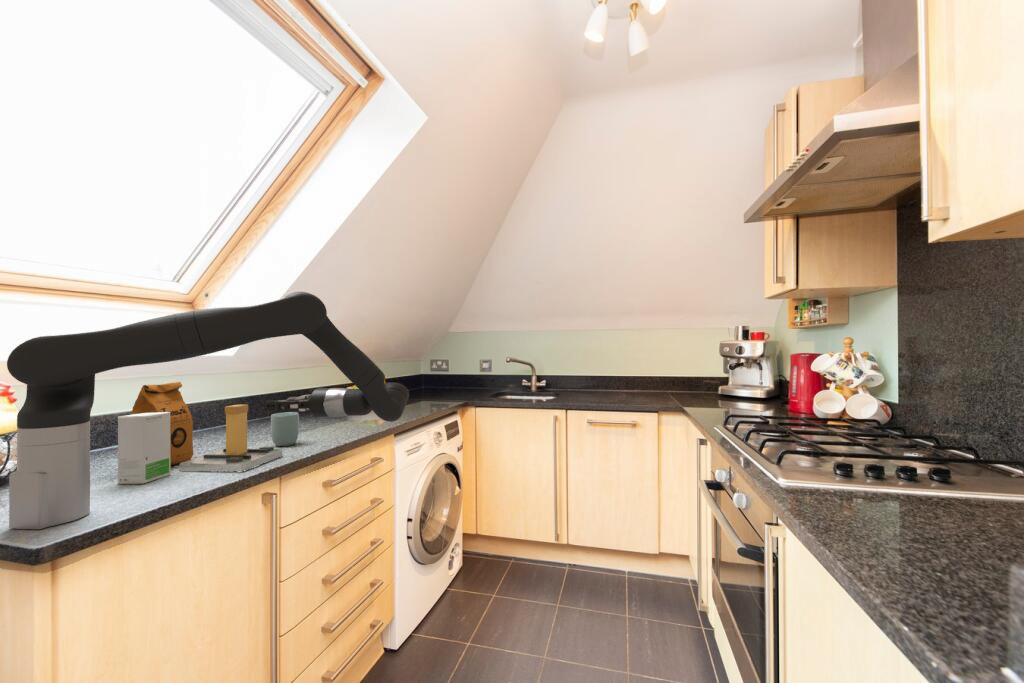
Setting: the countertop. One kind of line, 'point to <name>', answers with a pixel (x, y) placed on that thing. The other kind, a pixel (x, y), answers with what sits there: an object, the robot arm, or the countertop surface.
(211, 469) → the plate
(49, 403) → the robot arm
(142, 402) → the coffee package
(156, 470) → the skincare box
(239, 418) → the handle
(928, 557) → the countertop surface
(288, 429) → the cup
